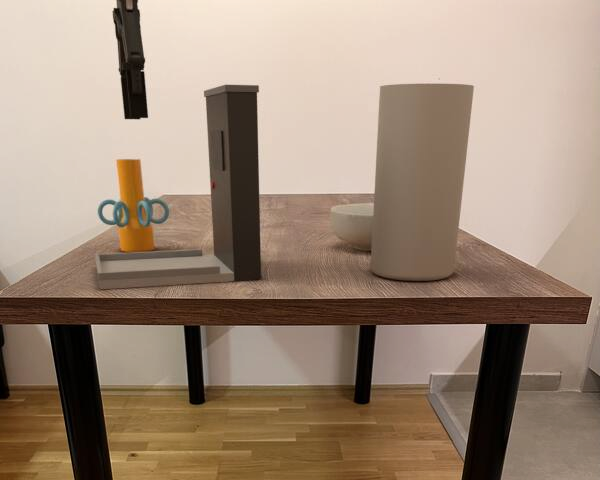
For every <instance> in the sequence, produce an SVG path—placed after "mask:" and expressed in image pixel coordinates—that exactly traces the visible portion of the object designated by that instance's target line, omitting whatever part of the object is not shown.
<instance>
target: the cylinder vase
mask: <svg viewBox="0 0 600 480" xmlns="http://www.w3.org/2000/svg"><path fill="white" fill-rule="evenodd" d="M474 90H475V86H474V85H473V84H466V83H465V84H463V83H462V84H461V83H398V84H397V83H396V84H384V85H380V86H379V96H378V97H379V98H378V117H377V135H376V136H377V138H376V154H375V155H376V156H375V175H374V195H373V203H374V211H373V231H372V250H371V251H370V253H371V254H370V270H371V272H372V273H373V274H375V275H376V276H379V277H380V278H381V277H382V278H385V279H390V280H395V281H403V282H404V281H405V282H431V281H438V280H439V281H440V280H444V279H447V278H449V277H450V276H452V275H453V273H454V272H455V264H456V255H457V248H458V247H457V246H458V238H459V227H460V219H461V210H462V202H463V201H462V200H463V192H464V183H465V171H466V164H467V156H468V155H467V154H468V146H469V145H468V144H469V134H470V129H471V128H470V126H471V116H472V108H473V99H474Z"/></svg>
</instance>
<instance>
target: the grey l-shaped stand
mask: <svg viewBox="0 0 600 480" xmlns="http://www.w3.org/2000/svg"><path fill="white" fill-rule="evenodd" d="M258 93H260V86H259V85H257V84H222V85H219V86H216V87H211V88H208V89H206V90H204V91H203V97H204V98H205V107H206V108H205V110H206V127H207V130H206V131H207V147H208V167H209V184H210V185H209V186H210V203H211V220H212V221H211V223H212V224H211V225H212V241H213V254H203V249H202V248H197V249H195V248H193V249H177V250H176V249H175V250H151V251H147V252H112V253H111V252H110V253H95V254H94V259H95V265H96V266H95V267H96V273H97V279H98V286H99V290H114V289H130V288H132V289H133V288H145V287H146V288H148V287H161V286H163V287H165V286H177V285H178V286H180V285H195V284H210V283H225V282H226V283H228V282H243V281H261V280H262V257H261V254H262V252H261V249H262V248H261V213H260V212H261V210H260V209H261V208H260V206H261V205H260V165H259V159H260V158H259V120H258V119H259V117H258V116H259V115H258Z"/></svg>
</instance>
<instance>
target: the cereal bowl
mask: <svg viewBox="0 0 600 480" xmlns="http://www.w3.org/2000/svg"><path fill="white" fill-rule="evenodd" d="M373 211H374V202H369V203H367V202H365V203H362V202H361V203H347V204H338V205H333V206H331V207H330V210H329V217H330V218H329V219H330V226H331V229H332V231H333V233H334V234H335V236H336V237H337V238H338V239H339V240H341V241H343V242H344V243H347V244H349V245H351V246H352V247H353V248H354V249H355V250H358V251H363V252H371V250H372V231H373Z"/></svg>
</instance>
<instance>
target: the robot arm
mask: <svg viewBox="0 0 600 480" xmlns="http://www.w3.org/2000/svg"><path fill="white" fill-rule="evenodd" d="M115 1H116V7H113V10H112V20H113V24H114V33H115V38H116V42H117V56H118V72H119V75H120V87H121V98H122V108H123V116H124V117H123V118H124V120H141V119H149V112H148V99H147V87H146V86H147V85H146V75H145V71H144V69H145V63H146V57H145V54H144V45H143V38H142V30H141V28H142V27H141V11H140V9H139V5H138V3H139V0H115Z"/></svg>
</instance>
